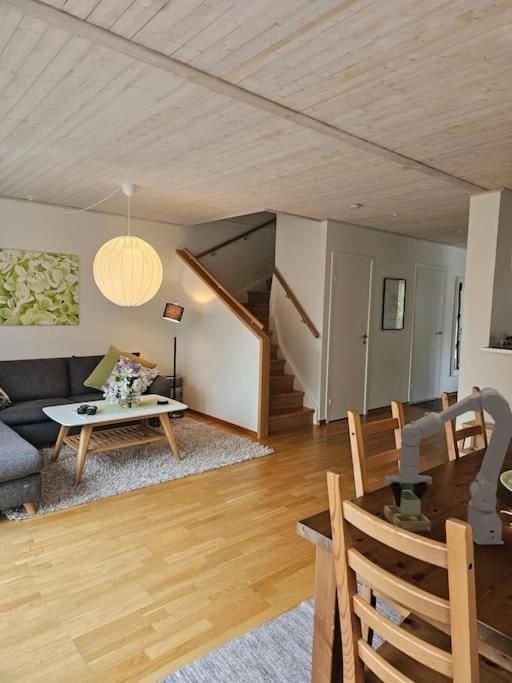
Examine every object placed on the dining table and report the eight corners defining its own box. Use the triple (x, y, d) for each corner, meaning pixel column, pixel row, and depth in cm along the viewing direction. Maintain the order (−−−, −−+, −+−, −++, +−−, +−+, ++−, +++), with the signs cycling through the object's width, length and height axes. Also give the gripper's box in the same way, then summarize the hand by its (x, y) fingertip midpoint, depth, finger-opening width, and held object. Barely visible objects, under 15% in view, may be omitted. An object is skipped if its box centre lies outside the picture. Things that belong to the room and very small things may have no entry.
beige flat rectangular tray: (430, 531, 137) (431, 522, 137) (398, 532, 136) (399, 522, 136) (413, 514, 149) (413, 505, 149) (383, 514, 148) (384, 505, 148)
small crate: (420, 516, 139) (420, 500, 139) (402, 516, 139) (403, 500, 138) (409, 505, 147) (410, 490, 147) (393, 505, 147) (393, 490, 146)
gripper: (425, 459, 146) (423, 500, 147) (381, 459, 145) (379, 500, 146) (436, 466, 139) (433, 509, 140) (390, 466, 138) (388, 510, 139)
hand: (406, 505), depth 143 cm, fingers closed on small crate, 5 cm apart
